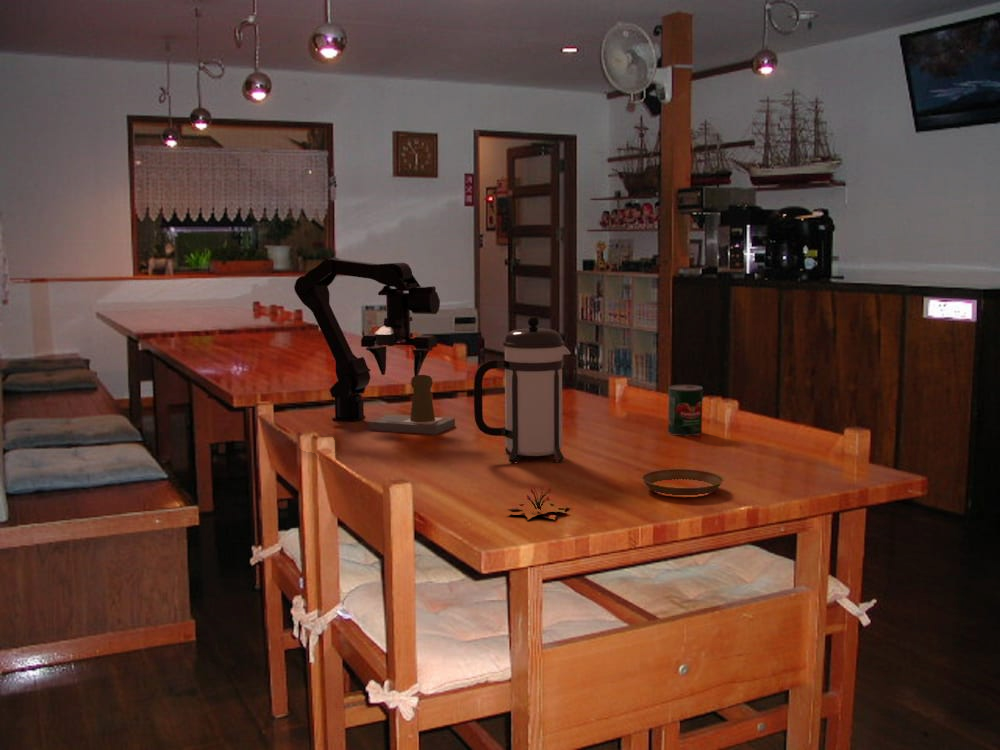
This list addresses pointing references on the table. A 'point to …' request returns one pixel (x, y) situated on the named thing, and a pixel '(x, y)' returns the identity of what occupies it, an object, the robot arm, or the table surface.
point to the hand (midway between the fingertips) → (399, 375)
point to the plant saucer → (683, 474)
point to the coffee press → (528, 392)
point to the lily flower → (540, 500)
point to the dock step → (411, 424)
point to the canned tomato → (685, 410)
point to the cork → (422, 399)
